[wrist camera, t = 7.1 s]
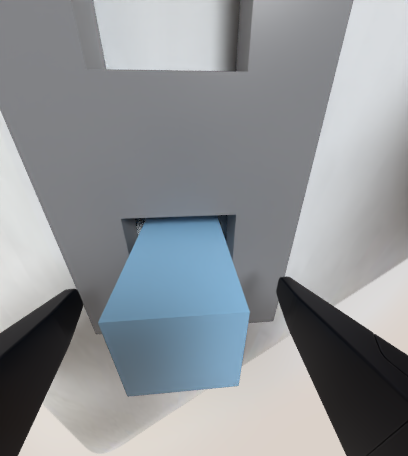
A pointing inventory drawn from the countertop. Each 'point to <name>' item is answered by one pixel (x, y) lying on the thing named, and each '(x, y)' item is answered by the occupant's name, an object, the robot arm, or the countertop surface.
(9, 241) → the countertop surface
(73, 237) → the grey board with holes
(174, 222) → the plug
